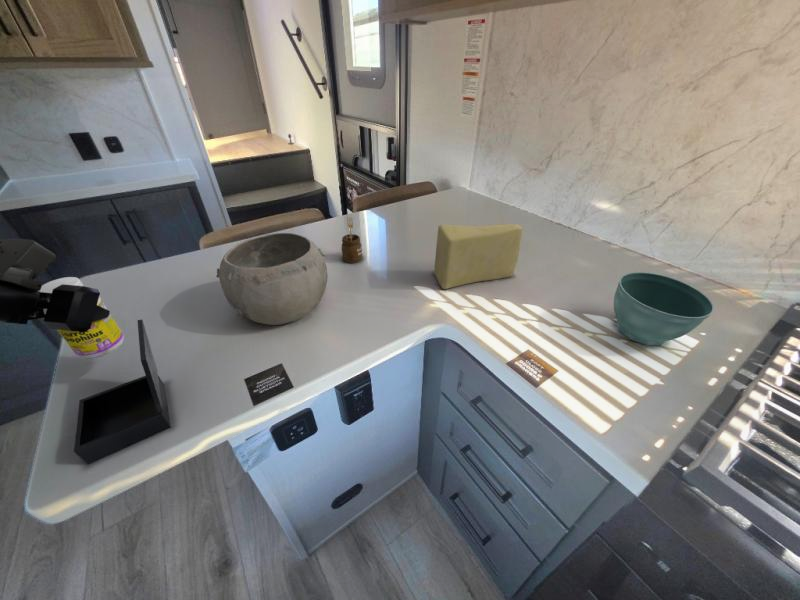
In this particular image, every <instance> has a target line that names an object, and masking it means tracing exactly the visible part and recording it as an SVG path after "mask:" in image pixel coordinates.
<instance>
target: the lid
mask: <svg viewBox="0 0 800 600" xmlns="http://www.w3.org/2000/svg"><path fill="white" fill-rule="evenodd" d="M143 320H144V319H137V331H138V344H139V354H140V355H139V357H140V362H141V366H142V369H143V372H144V376H146V378H147V381H148V384H149V387H150V390H151V393H152V397H153V400H154V403H155V406H156V409H157V412H158V413H160V412H163V410H162V403H161V395H160V387H159V380H158V376H159V373H158V372H159V371H158V367H157V365H156V361H155V357H154V355H153V351H152V348H151V344H150V341H149V337H148V334H147V331H146V328H145V324H144V321H143Z"/></svg>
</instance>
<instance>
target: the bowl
mask: <svg viewBox="0 0 800 600" xmlns="http://www.w3.org/2000/svg"><path fill="white" fill-rule="evenodd" d="M325 256H326V255H325V253H324V252H323V250H322V248H321V247H320V248H319V247H318V246H317V245H316V244H315V242H314V241H312V240H311V239H310V238H308V237H306V236H303V235H300V234H296V233H291V232H278V233H270V234H269V233H268V234H265V235H261V236H260V235H259V236H256V237H253V238H252V237H251V238H249V239H246V240H243V241H241V242H239V243H237V244H236V245H234V246H233V247H232V248H230V249H229V250H227V251H226V253H225V254H224V255H223V257H222V259H221V261H220V264H219V268H216V276H215V277H216V278H218V279H219V283H220V287H221V289H222V292H223V294H224V297H225V299H226V300H227V302H228V304H229V305H230V307H232V308H233V310H235V311H236V314H237V316H238V318H240V320H244V319H245V318H246V319H249V320H251V321H253V322H255V323H259V324H263V325H267V326H280V325H284V324H289V323H290V324H291V323H293V322H296V321H299V320H301V319H303V318H304V317H306V316H308V315H309V314H311V313H312V312H313V311H314V310H315V309H316V308H317V307H318V305H319V304H320V302H321V300H322V298H323V297H324V294H325V292H326V288H327V284H328V278H329V277H328V276H329V275H328V267H327V263H326V261H325V258H324V257H325Z"/></svg>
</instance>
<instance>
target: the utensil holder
mask: <svg viewBox="0 0 800 600" xmlns="http://www.w3.org/2000/svg"><path fill="white" fill-rule="evenodd" d="M346 223H347V227H346V229H348V230H349V233H347V234H345V235H343V236H342V238H341V255H342V260H343V261H344V262H346V263H349V264H355V263H359V262H361V260H362V259H363V248H362V247H363V246H362V242H361V237H360V236H359V235H358V234H355V233H354V229H353V228H354V221H353V216H347V217H346Z"/></svg>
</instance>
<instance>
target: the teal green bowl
mask: <svg viewBox="0 0 800 600" xmlns="http://www.w3.org/2000/svg"><path fill="white" fill-rule="evenodd" d="M613 311H614V315H615V318H616V327H617V329H618V330H619V332H620V333H622V334H623V335H624V336H626V338H629V340H630V339H631V340H632V341H634V342H637V343H639V344H643V345H646V346H660V345H662V344H664V343H665V342H668V341H673V340H675V339H676V340H677V339H679V338H681V337H683V336H685V335H687V334H689V333H690V332H692V331H694V330H695V329H696V328H697V327H699V326H700V325H701V324H702V323H703V322H704V321H705V320H706V319H708V318H709V317H710V316H711V315H712V314H713V313H714V311H715V307H714V303H713V302H712V300H711V299H710V298H709V297H708V295H706V294H705V293H703V292H702V291H700V290H699V289H697V288H695V287H694V286H692V285H690V284H688V283H686V282H684V281H681V280H679V279H677V278H673V277H671V276H666V275H663V274H658V273H654V272H646V271H633V272H628V273H625V274H623V275H622V276H621V277H620V278H619V279H618V283H617V288H616V289H615V292H614V297H613Z"/></svg>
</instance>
